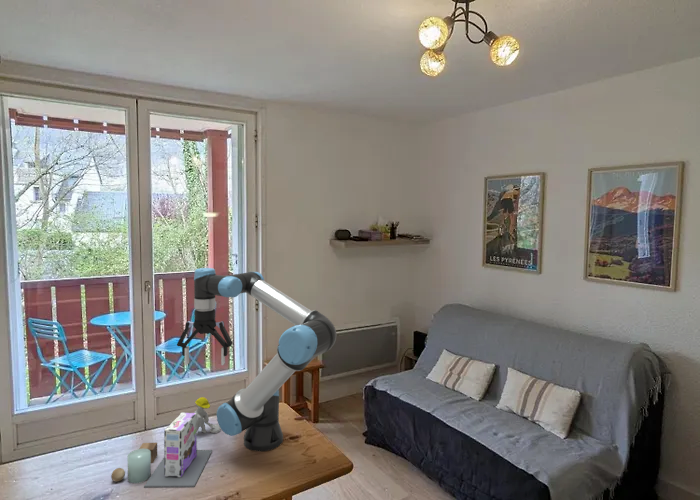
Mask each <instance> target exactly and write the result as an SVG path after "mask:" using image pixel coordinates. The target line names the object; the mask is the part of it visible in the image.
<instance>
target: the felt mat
mask: <svg viewBox="0 0 700 500" xmlns="http://www.w3.org/2000/svg"><path fill="white" fill-rule="evenodd" d="M212 452H213V449H197V456H196V457H195V459H194V460H193V461H192V463H191V464H190V466H189V467H188V468H187V470H186V471H185V472H184V474H183V475H182V476H181V477H165V476H164V457H162V459H161V461H160V462H159V464H158V465H157V466H156V468H155V469H154V471H153V472H152V473H151V476H150V478H149V479H147V480H146V482H145V484H144V485H143V488H145V489H146V488H153V489H155V488H162V489H163V488H195V486H196V485H197V483H198V482H199V479H200V476H201V475H202V473H203V471H204V469H205V467H206V464H207V463H208V462H209V459H210V457H211V455H212Z"/></svg>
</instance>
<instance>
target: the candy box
mask: <svg viewBox="0 0 700 500" xmlns="http://www.w3.org/2000/svg"><path fill="white" fill-rule="evenodd" d="M163 435H164V438H163V439H164V440H163V441H164V445H163V446H164V448H163V449H164V455H163V458H164V476H165V477H181V476H182V475H183V474H184V472H185V471H186V470H187V468H188V467H189V466H190V464H191V463H192V461H193V460H194V459H195V457H196V456H197V450H198V448H197V446H198V445H197V444H198V442H197V436H198V435H196V413H194V412H180V414H178V416H177V417H176V418H175V419H174V420H173V421H171V422H170V423H169V425H168V426H167V427H166V428H165V429H164V433H163Z"/></svg>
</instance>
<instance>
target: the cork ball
mask: <svg viewBox="0 0 700 500" xmlns="http://www.w3.org/2000/svg"><path fill="white" fill-rule="evenodd" d="M125 475H126V471H125V469H124V468H122V467H118V468H116V469H114V470H113V471H112V473H111V476H110V477H111V480H112V481H114V482H115V483H116V482H121V481H122V480H124V478H125Z"/></svg>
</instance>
